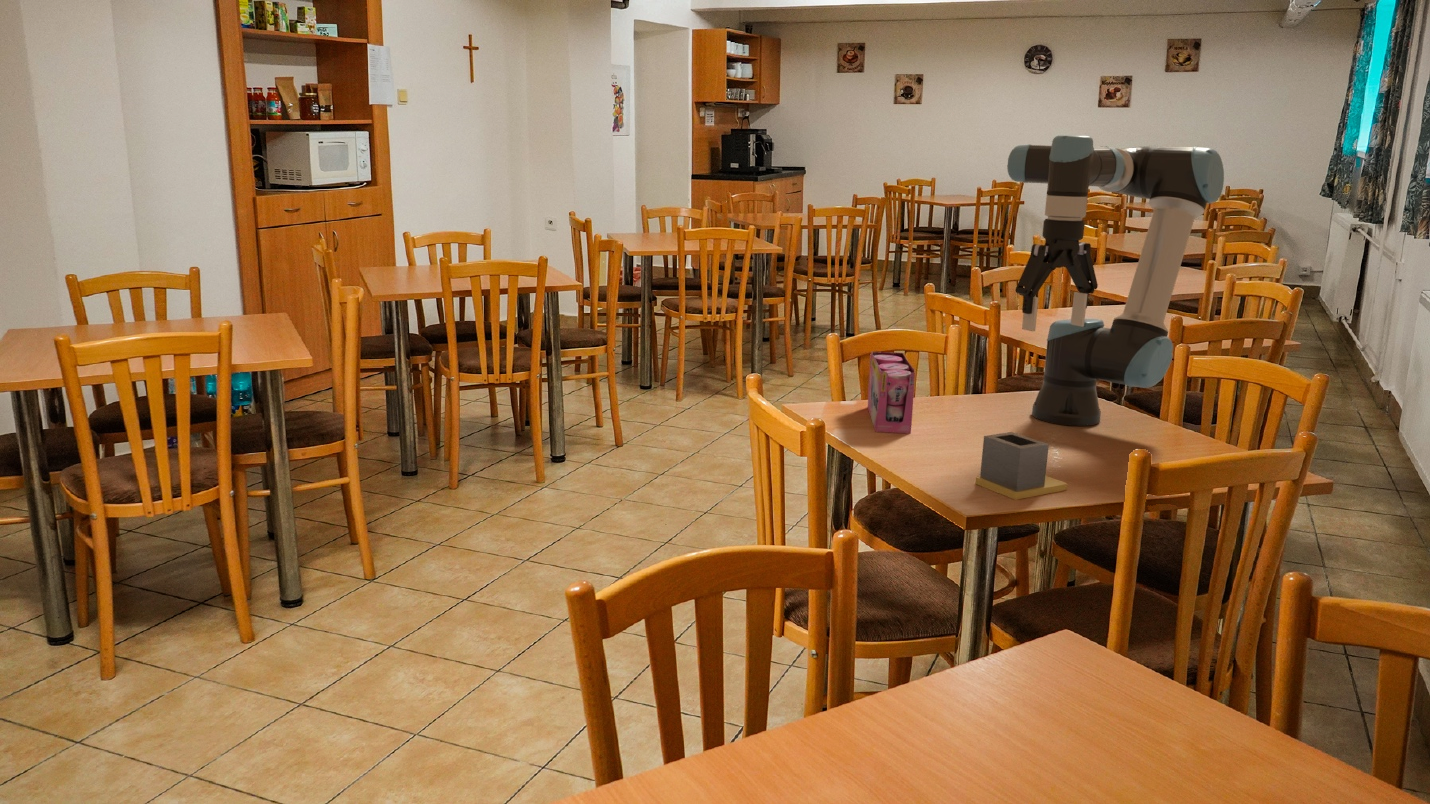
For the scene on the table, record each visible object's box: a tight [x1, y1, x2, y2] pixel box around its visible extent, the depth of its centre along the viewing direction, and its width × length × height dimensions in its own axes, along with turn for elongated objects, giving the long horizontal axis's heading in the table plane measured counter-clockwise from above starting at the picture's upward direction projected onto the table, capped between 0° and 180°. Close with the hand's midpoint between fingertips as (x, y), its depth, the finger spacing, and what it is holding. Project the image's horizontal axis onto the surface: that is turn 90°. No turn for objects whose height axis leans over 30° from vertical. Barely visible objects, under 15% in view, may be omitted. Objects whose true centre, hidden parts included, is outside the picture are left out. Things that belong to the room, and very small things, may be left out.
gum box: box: [867, 351, 916, 434], centre depth 237 cm, size 24×8×14 cm, turn 177°
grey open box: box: [979, 431, 1050, 492], centre depth 192 cm, size 9×7×8 cm
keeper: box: [974, 475, 1068, 501], centre depth 193 cm, size 13×10×7 cm
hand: (1053, 328), depth 208 cm, fingers open, 13 cm apart
